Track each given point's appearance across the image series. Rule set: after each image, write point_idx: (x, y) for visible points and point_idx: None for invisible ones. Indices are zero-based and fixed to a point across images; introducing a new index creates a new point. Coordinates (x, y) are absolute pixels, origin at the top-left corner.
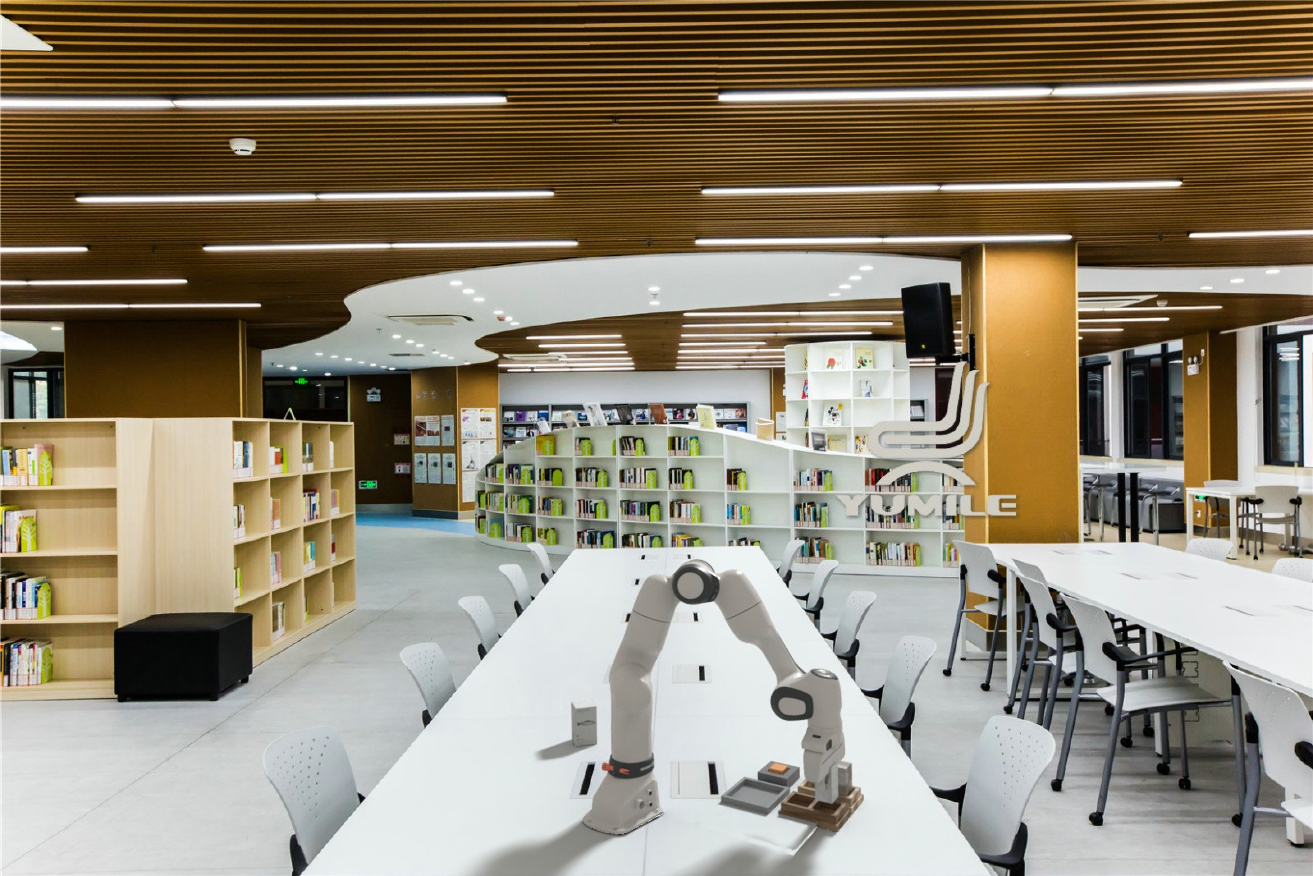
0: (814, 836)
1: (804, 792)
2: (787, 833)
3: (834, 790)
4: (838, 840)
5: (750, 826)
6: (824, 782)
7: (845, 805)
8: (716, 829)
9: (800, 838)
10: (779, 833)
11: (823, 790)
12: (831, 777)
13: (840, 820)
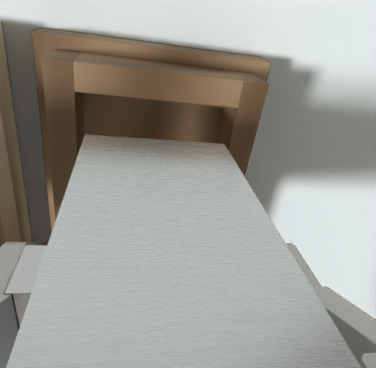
0: (318, 144)
1: None
2: (312, 232)
3: (177, 182)
4: (340, 28)
5: None
6: (348, 318)
7: (72, 61)
8: None
9: (342, 185)
10: (317, 252)
11: (298, 257)
12: (328, 323)
13: (195, 60)
